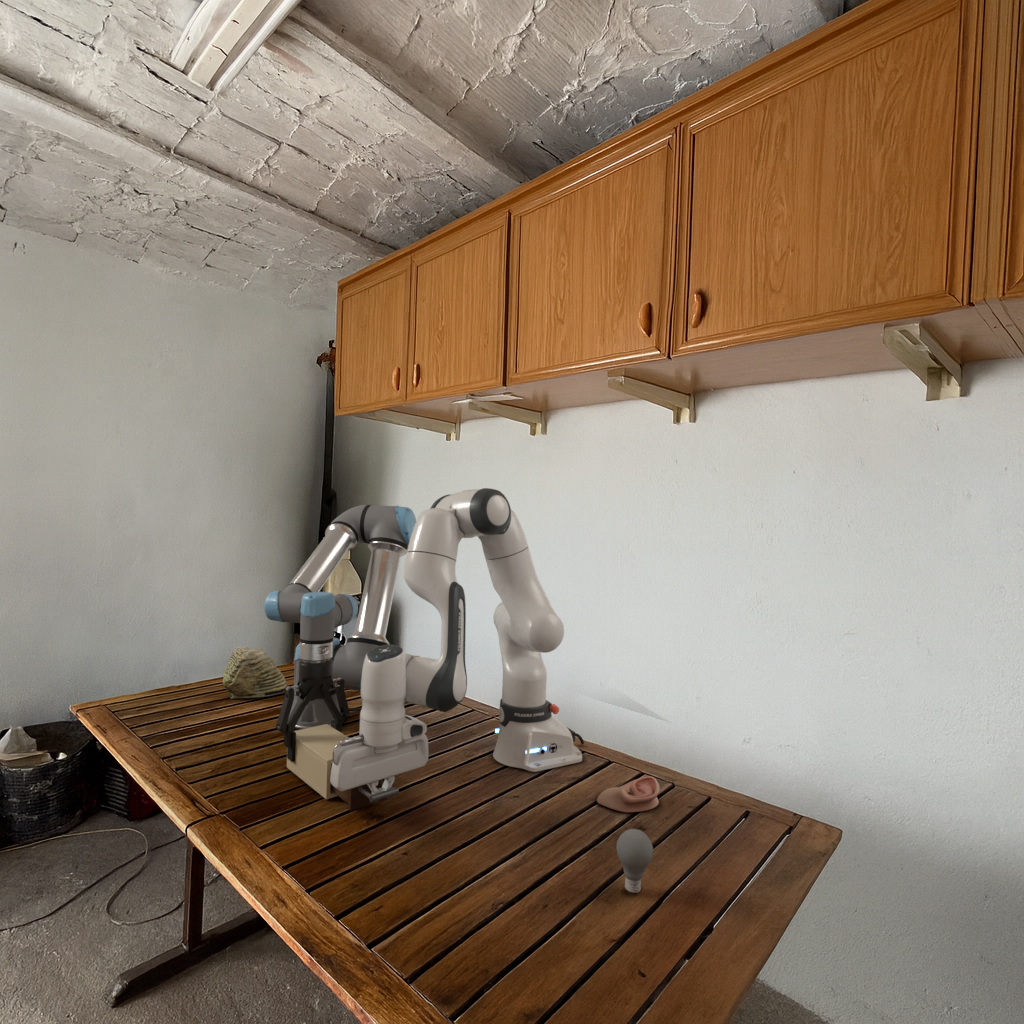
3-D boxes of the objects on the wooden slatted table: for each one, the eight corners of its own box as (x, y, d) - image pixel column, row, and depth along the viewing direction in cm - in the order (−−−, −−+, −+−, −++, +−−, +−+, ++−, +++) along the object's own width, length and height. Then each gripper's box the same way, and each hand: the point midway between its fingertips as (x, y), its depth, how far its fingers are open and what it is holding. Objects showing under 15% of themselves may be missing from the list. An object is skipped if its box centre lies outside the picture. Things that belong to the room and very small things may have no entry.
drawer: (404, 810, 127) (405, 778, 126) (365, 823, 121) (366, 790, 121) (344, 768, 145) (345, 741, 145) (308, 778, 140) (309, 749, 140)
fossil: (218, 695, 195) (220, 647, 195) (278, 685, 208) (279, 640, 207) (228, 703, 189) (230, 653, 188) (289, 692, 201) (290, 645, 201)
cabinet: (368, 786, 138) (369, 749, 138) (326, 799, 132) (327, 760, 132) (325, 757, 154) (326, 723, 154) (286, 767, 147) (287, 732, 147)
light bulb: (610, 879, 108) (613, 822, 108) (644, 879, 109) (647, 822, 109) (619, 902, 102) (622, 840, 102) (655, 901, 103) (658, 840, 103)
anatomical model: (596, 789, 133) (599, 767, 145) (595, 808, 134) (599, 785, 145) (660, 798, 131) (659, 775, 142) (659, 817, 131) (658, 792, 142)
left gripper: (274, 669, 137) (271, 772, 138) (367, 656, 152) (364, 748, 153) (261, 662, 143) (258, 760, 143) (352, 649, 158) (349, 738, 158)
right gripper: (340, 747, 116) (338, 822, 116) (433, 723, 129) (431, 790, 130) (325, 736, 120) (323, 808, 121) (416, 714, 134) (414, 779, 134)
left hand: (313, 754), depth 148 cm, fingers closed on cabinet, 10 cm apart
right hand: (380, 799), depth 125 cm, fingers closed, pressing on drawer
